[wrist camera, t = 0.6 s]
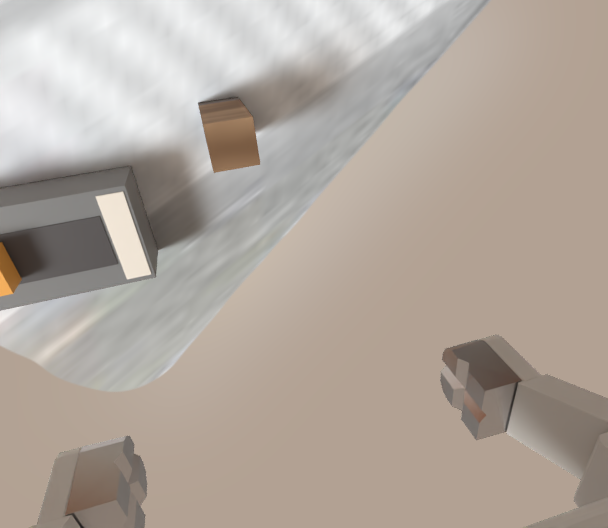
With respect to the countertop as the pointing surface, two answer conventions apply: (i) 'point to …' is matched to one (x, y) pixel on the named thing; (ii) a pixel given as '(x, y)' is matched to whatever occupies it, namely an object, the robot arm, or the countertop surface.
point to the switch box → (75, 235)
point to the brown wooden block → (229, 134)
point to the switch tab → (7, 273)
